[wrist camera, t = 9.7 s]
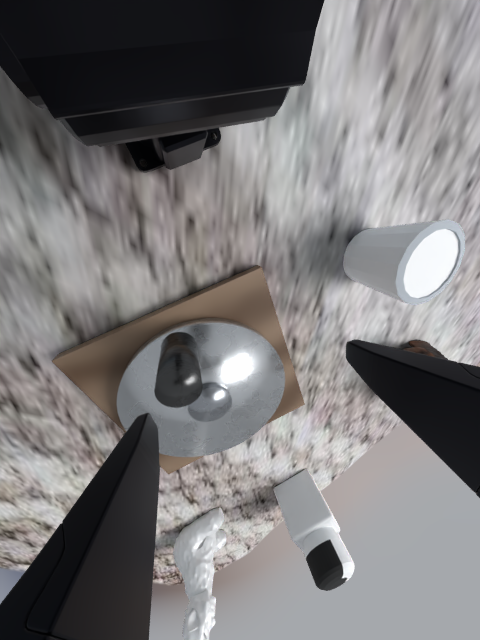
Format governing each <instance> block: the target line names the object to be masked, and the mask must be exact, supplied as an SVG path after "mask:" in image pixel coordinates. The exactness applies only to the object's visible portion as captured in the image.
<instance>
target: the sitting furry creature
mask: <svg viewBox="0 0 480 640" xmlns="http://www.w3.org/2000/svg"><path fill="white" fill-rule="evenodd" d="M223 522H224V515H223V511H222V509H221V508H220V507H219V508H215V509H213V510H209V512H208V513H206V514H204V515H203V516H201V517H200V518H198V519H197V520H195V521H193V522H192V523H191V524H189V525H188V526H186V527H184V528H183V529H182V531H181V532H180V534H179V536H178V537H177V538H176V542H175V545H174V547H173V548H174V551H173V555H174V560H175V564H176V565H177V567H178V568H179V571H180V572H181V573H182V578H183V579H184V583H185V588H186V589H185V592H186V594H187V595H188V599H190V601H189V603H188V606H187V609H186V610H185V620H184V625H183V638H184V640H209V632H210V630H211V628H212V627H213V626H214V624H215V619H214V616H215V604H216V598H215V596H214V597H213V596H211V595H212V582H213V575H214V566H213V557H214V553H213V552H217V551H219V550H220V549H221V548H222V547H223V546H224V545H225V543H226V533H225V531H224V530H222V529H221V530H219V528H220V526H221V525H222V524H223Z"/></svg>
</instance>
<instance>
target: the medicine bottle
mask: <svg viewBox="0 0 480 640" xmlns="http://www.w3.org/2000/svg"><path fill="white" fill-rule="evenodd" d="M274 493H275V496H276V498H277V501H278V504H279V507H280V509H281V512H282V515H283V518H284V521H285V523H286V526H287V529H288V532H289V534H290V537H291V539H292V541H293V542H294V543H295V544H296V545H297V546H298V547H299V548H300V549H301V550H302V551H303V552H304V555H305V558H306V560H307V563H308V566H309V568H310V571H311V573H312V576H313V579H314V581H315V584H316V586H317V587H318V588H319V589H321V590H326V591H328V590H332V589H334V588H337V587H338V586H340V585H342V584H343V583H345V582H346V581H347V580H348V579H349V578H350V577H351V576H352V574H353V571H354V562H353V560H352V558H351V556H350V554H349V553H348V551H347V549H346V547H345V545H344V543H343V541H342V539H341V537H340V535H339V534H338V532H340V527H339V525H338V523H337V522H336V520H335V518H334V517H333V514H332V512H331V510H330V508H329V507H328V505H327V503H326V501H325V499H324V497H323V496H322V493H321V492H320V490H319V488H318V486H317V484H316V482H315V481H314V479H313V477H312V475H311V473H310V472H309V470H308V469H305V470H303V471H301V472H300V473H298V474H296V475H295V476H293V477H291V478H289V479H288V480H286V481H284V482H283V483H281V484H279V485H278V486H276V487H274Z"/></svg>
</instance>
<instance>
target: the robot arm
mask: <svg viewBox="0 0 480 640" xmlns="http://www.w3.org/2000/svg"><path fill="white" fill-rule="evenodd" d="M323 3H324V0H0V66H1V67H2V69H3V70H4V71H5V73H6V74H7V75H8V76H9V78H10V79H11V80H12V81H13V83H14V84H15V85H16V86H17V87H18V88H19V89H20V90H21V92H22V93H23V94H24V95H25V96H26V97H27V98H28V99H29V100H30V101H32V102H33V103H34V104H35V105H36V106H38V107H41V108H46V109H49V111H50V113H51V114H52V116H53V117H54V118H55V119H56V120H57V119H59V120H60V121H61V122H62V124H63V125H64V126H65V127H66V129H67V130H68V131H69V132H70V133H71V134H72V135H73V136H74V137H75V138H76V139H77V140H79V141H80V142H82V143H83V144H85V145H86V146H92V145H98V146H99V147H102V146H109V145H115V144H121V143H126V145H127V147H128V149H129V151H130V153H131V155H132V157H133V160H134V162H135V164H136V166H137V167H138V168H139V170H140V171H142V172H144V173H146V172H150V171H152V170H155V169H157V168H160V167H163V166H166V168H168V169H170V170H171V169H174V168H176V167H179V166H181V165H184V164H187V163H189V162H192V161H194V160H197V159H199V158H201V155H202V152H203V151H204V150H206V149H209V148H211V147H214V146H216V145H218V143H219V142H220V139H221V134H220V130H219V128H220V127H226V126H232V125H238V124H244V123H251V122H257V121H262V120H264V119H265V118H267V117H273V116H275V114H276V113H277V112H278V110H279V109H280V107H281V106H282V104H283V102H284V100H285V98H286V96H287V94H288V91H289V89H290V87H293V86H300V85H303V84H304V83H305V80H306V76H307V71H308V66H309V61H310V56H311V51H312V46H313V41H314V36H315V31H316V27H317V24H318V20H319V17H320V13H321V10H322V6H323ZM212 133H214V134H215V135H216V136H217V139H216V140H213V139H212V138H211V134H212ZM142 160H145V161H146V162H147V166H146V167H142V166H141V165H140V161H142ZM346 359H347V361H348V362H349V363H350V365H351V366H352V367H353V368H354V369H355V371H356V372H357V373H358V374H359V375H360V377H361V378H362V379H363V380H364V382H365V383H366V384H367V385H368V386H369V387H370V388H371V389H372V390H373V392H374V393H375V394H376V395H377V396H378V397H379V398H380V399H381V400H382V401H383V402H384V403H385V404H386V405H387V406H388V407H389V408H390V409H391V410H392V411H393V412H394V413H395V414H396V415H397V416H398V417H399V418H400V419H401V420H402V421H403V422H404V423H405V424H407V425H408V427H409V428H410V429H411V430H413V432H414V433H416V434H417V436H418V437H420V438H421V439H422V440H423V441H424V442H425V443H426V444H427V445H428V446H429V447H430V448H431V449H432V450H433V451H434V452H435V453H436V454H437V455H438V456H439V457H440V458H441V459H442V460H443V461H444V462H445V463H446V464H447V465H448V466H449V467H450V468H451V469H452V470H453V471H454V472H455V473H456V474H457V475H458V476H459V477H460V478H461V479H462V480H463V481H464V482H465V483H466V484H467V485H468V486H469V487H470V488H471V489H472V490H473V491H474V492H475V493H476V495H477V496H478V497H479V498H480V367H477V366H473V365H468V364H464V363H457V362H455V361H450V360H446V359H441V358H437V357H432V356H428V355H423V354H419V353H414V352H410V351H406V350H401V349H397V348H392V347H388V346H383V345H379V344H374V343H370V342H365V341H361V340H352V341H349V342H347V344H346ZM159 475H160V463H159V438H158V427H157V425H156V423H155V421H154V420H153V418H152V416H151V415H150V414H149V413H145V414H142V415H139V416H138V417H137V418H136V419H135V420H134V422H133V423H132V425H131V426H130V427H129V429H128V430H127V432H126V433H125V434H124V436H123V437H122V439H121V440H120V441H119V443H118V444H117V446H116V447H115V448H114V450H113V451H112V453H111V454H110V455H109V457H108V458H107V460H106V461H105V462H104V464H103V465H102V467H101V468H100V469H99V471H98V472H97V474H96V475H95V476H94V478H93V479H92V481H91V482H90V483H89V485H88V486H87V487H86V489H85V490H84V492H83V493H82V494H81V496H80V497H79V499H78V500H77V501H76V503H75V504H74V506H73V507H72V508H71V510H70V511H69V513H68V514H67V515H66V517H65V518H64V520H63V523H62V524H60V525H59V527H58V528H57V529H56V531H55V532H54V534H53V535H52V536H51V538H50V539H49V541H48V542H47V543H46V545H45V546H44V547H43V549H42V550H41V551H40V553H39V554H38V555H37V557H36V558H35V560H34V561H33V562H32V564H31V565H30V566H29V568H28V569H27V570H26V572H25V573H24V574H23V575H22V577H21V578H20V579H19V581H18V582H17V583H16V585H15V586H14V587H13V588H12V590H11V591H10V592H9V594H8V595H7V596H6V598H5V599H4V600H3V601H2V603H1V604H0V640H149V626H150V611H151V596H152V581H153V566H154V551H155V536H156V521H157V506H158V492H159Z"/></svg>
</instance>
